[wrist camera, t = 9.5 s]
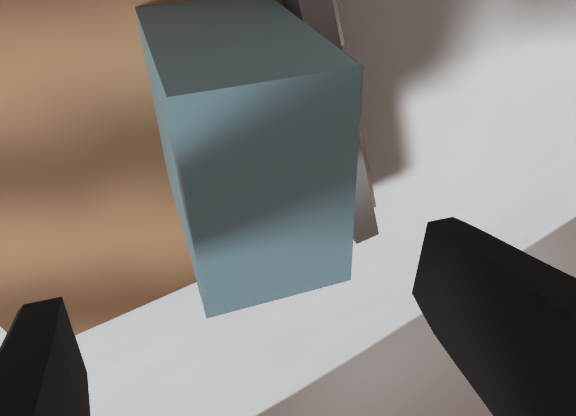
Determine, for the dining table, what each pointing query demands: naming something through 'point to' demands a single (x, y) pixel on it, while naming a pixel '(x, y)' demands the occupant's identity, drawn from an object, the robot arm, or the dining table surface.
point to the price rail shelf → (98, 161)
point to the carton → (255, 146)
